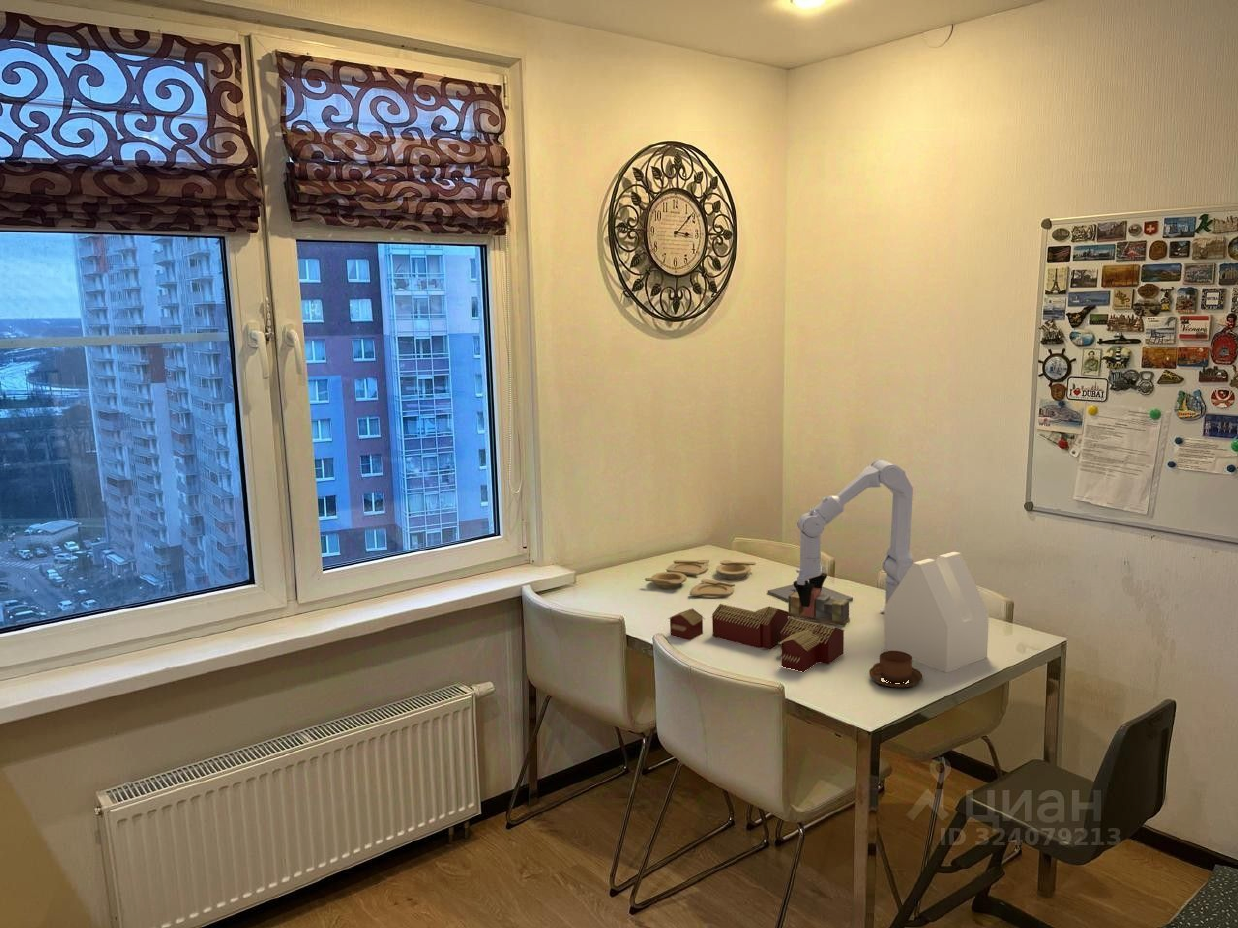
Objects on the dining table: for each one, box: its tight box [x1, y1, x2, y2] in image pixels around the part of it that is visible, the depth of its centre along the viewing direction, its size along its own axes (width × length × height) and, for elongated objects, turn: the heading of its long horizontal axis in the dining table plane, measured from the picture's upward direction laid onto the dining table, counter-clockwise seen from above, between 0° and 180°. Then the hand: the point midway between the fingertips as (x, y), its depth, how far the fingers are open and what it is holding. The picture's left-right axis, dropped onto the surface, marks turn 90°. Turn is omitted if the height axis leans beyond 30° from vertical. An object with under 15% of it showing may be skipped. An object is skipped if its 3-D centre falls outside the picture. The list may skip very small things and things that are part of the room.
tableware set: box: [644, 559, 756, 599], centre depth 293 cm, size 35×29×4 cm
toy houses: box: [667, 603, 845, 673], centre depth 238 cm, size 45×20×10 cm, turn 50°
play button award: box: [767, 580, 854, 603], centre depth 273 cm, size 16×2×20 cm
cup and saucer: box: [868, 650, 923, 688], centre depth 213 cm, size 12×12×6 cm
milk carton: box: [883, 551, 990, 674], centre depth 227 cm, size 19×15×25 cm
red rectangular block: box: [804, 588, 821, 618], centre depth 256 cm, size 3×5×7 cm, turn 146°
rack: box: [787, 592, 851, 627], centre depth 255 cm, size 17×4×6 cm, turn 56°
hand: (810, 602), depth 256 cm, fingers open, 7 cm apart
